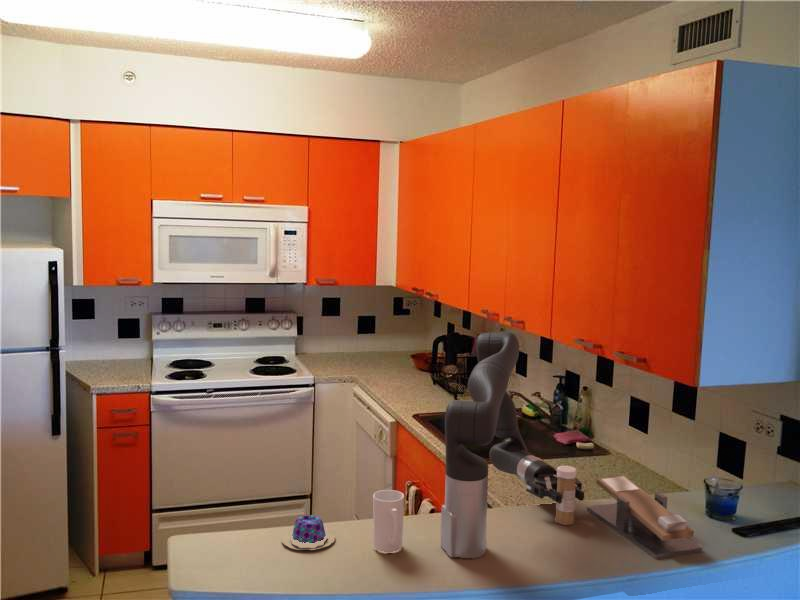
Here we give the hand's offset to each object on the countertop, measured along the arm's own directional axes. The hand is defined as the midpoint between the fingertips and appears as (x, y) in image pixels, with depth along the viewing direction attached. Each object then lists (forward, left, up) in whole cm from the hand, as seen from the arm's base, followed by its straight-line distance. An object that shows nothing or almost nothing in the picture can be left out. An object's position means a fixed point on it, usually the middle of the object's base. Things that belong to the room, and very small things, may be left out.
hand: (571, 497), depth 170 cm
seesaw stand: (+15, -6, -7) cm, 18 cm away
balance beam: (+15, -6, -1) cm, 16 cm away
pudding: (-61, +10, -8) cm, 62 cm away
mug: (-45, 0, -7) cm, 46 cm away
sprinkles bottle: (0, +3, -7) cm, 8 cm away
